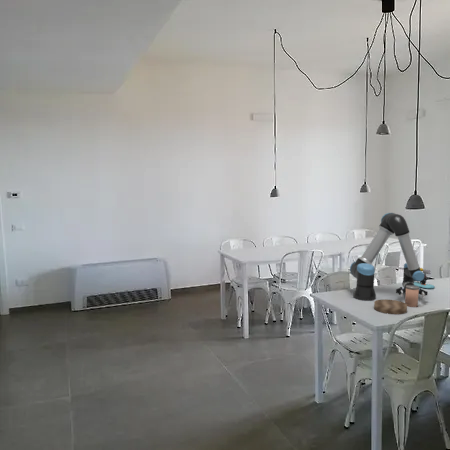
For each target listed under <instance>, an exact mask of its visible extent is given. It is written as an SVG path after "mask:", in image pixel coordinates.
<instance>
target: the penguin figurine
mask: <svg viewBox="0 0 450 450" xmlns="http://www.w3.org/2000/svg"><path fill="white" fill-rule="evenodd" d="M420 270H421V271H422V272H423V273H424V279H423V280H422V281H419V282H418V281H414V285H416V286H419V288H421V289H422V288H423V289H434V288H436V286H435V285H433V284H429V283H427V280H428V278H427V275H431V273H432V272H431V270H430V269H426V268H422V267H420Z"/></svg>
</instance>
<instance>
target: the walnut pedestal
mask: <svg viewBox="0 0 450 450" xmlns="http://www.w3.org/2000/svg"><path fill="white" fill-rule="evenodd" d="M373 303H374V304H373V309H374V310H375V311H377V312H379V313H382V314H387V313H388V315H403V314H407V312H408V306H407V304H406V303H405V301H401V300H395V299H388V298H387V299H377V300H376V299H375V300H374V302H373Z"/></svg>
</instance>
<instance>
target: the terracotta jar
mask: <svg viewBox="0 0 450 450" xmlns="http://www.w3.org/2000/svg"><path fill="white" fill-rule="evenodd" d="M419 288H420V287H419V286H416V285H406V293H405V298H404V299H405V300H404V303H406V304H407V308H408V307H409V308H417V307H418V306H419V295H420V294H419Z"/></svg>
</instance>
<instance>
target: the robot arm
mask: <svg viewBox="0 0 450 450" xmlns="http://www.w3.org/2000/svg"><path fill="white" fill-rule="evenodd" d="M378 228H379V229H378V230H377V232H376V233H375V236H374V237H373V239H372V240H371V241H370V243H369V245H368V246H367V248H366V249H365V250H364V252H363V254H362V255H361V256H360V257H358V258H357V259H356V260H355V261H354V262H352V263H351V264H350V266H349V271H350V274H351V275H352V277H353V278H355V279H356V287H355V289H354V292H353V298H354V299H356V300H360V301H376V298H377V294H376V291H375V287H374V286H375V272H376V271H375V270H376V269H375V266H374V265H373V263H374V260H375V259H376V258H377V257H378V254H379V253H380V252H381V251H382V249H383V247H384V246H385V244H386V242H387V241H388V239H389V238H390V237H391V236H393V235H395V237H396V238H397V240H398V243H399V245H400V249H401V251H402V254H403V257H404V261H405V263H403V274H402V275H403V278H402V286H400V287H399V288H395V293H396V294H398V295H400V296H401V297H403V295H404V293H405V294H406V285H414V282H420V281H422V280H423V279H424V273H423V271H421V270H420V268H421V267H420V264H419V262H418V261H419V260H418V258H417V255H416V252H415V249H414V246H413V243H412V240H411V237H410V229H409V225H408V223H407V221H406V219H405V218H404V216H402V214H398V213H395V212H388V213H385V214H384V215H382V217H381V219H380V224H379V226H378ZM418 295H421V297H422V298H423V299H425V296H428V291H427V290H424V289H422V287H419V294H418Z"/></svg>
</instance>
